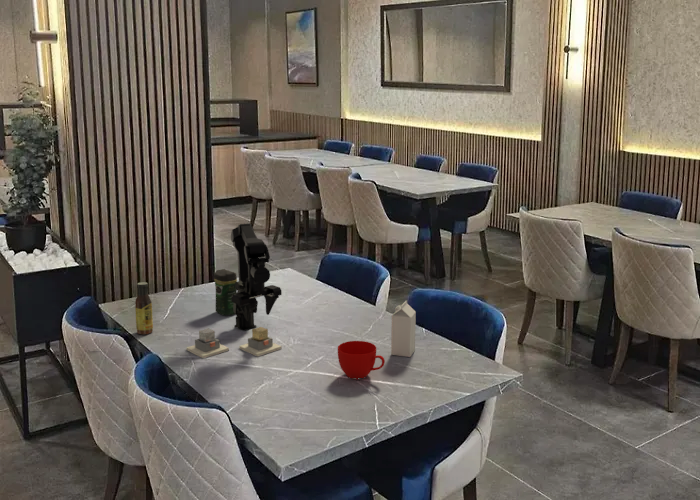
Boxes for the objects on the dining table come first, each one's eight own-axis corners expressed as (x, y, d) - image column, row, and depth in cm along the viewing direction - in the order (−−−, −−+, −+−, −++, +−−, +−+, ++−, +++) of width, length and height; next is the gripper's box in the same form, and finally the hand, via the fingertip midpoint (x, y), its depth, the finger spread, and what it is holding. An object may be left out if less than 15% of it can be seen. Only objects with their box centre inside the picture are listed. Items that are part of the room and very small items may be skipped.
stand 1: (211, 342, 280) (211, 332, 280) (228, 350, 273) (228, 340, 272) (186, 350, 273) (185, 339, 272) (203, 358, 265) (202, 347, 264)
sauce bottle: (148, 335, 288) (145, 286, 283) (133, 334, 289) (130, 285, 284) (156, 330, 294) (153, 281, 289) (141, 329, 295) (138, 280, 290)
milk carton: (415, 350, 273) (416, 301, 269) (410, 357, 267) (411, 306, 262) (396, 348, 275) (397, 299, 271) (390, 355, 269) (391, 304, 264)
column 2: (261, 341, 277) (261, 326, 276) (268, 344, 274) (268, 329, 273) (252, 344, 274) (251, 329, 273) (259, 347, 271) (258, 332, 270)
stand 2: (263, 341, 282) (263, 331, 281) (281, 348, 274) (281, 338, 274) (239, 348, 275) (239, 338, 274) (257, 356, 267) (257, 346, 266)
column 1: (209, 343, 275) (208, 328, 274) (215, 346, 273) (214, 331, 271) (199, 346, 273) (198, 330, 271) (205, 349, 270) (205, 333, 268)
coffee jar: (241, 313, 314) (239, 271, 310) (225, 317, 309) (223, 274, 304) (228, 308, 321) (226, 266, 317) (212, 312, 316) (210, 269, 311)
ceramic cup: (374, 389, 240) (374, 360, 238) (330, 377, 249) (330, 349, 247) (393, 375, 251) (393, 347, 249) (350, 365, 260) (350, 338, 257)
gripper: (263, 267, 280) (264, 307, 284) (221, 276, 267) (223, 317, 271) (282, 273, 272) (282, 313, 276) (240, 282, 260) (241, 325, 263)
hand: (257, 317), depth 272 cm, fingers open, 9 cm apart
